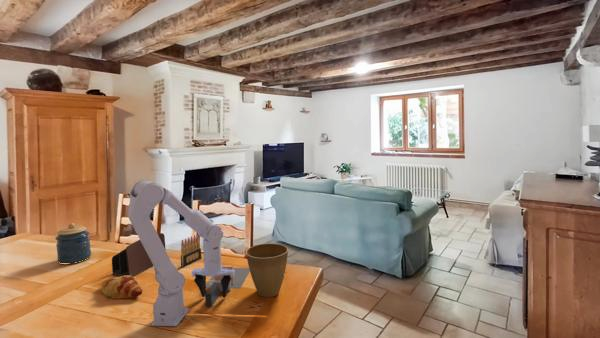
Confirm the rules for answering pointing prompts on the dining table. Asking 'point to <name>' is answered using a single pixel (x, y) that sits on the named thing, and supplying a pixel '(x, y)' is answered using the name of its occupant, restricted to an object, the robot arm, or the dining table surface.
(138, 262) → the letter holder
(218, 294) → the turner
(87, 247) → the canister
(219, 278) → the tile
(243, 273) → the mat
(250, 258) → the plant pot
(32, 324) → the dining table surface
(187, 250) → the ammunition clip
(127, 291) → the croissant
